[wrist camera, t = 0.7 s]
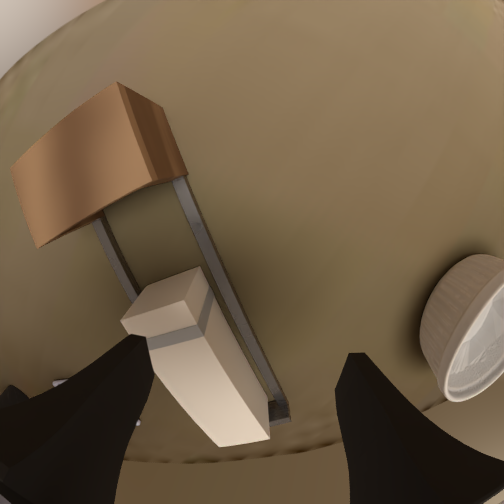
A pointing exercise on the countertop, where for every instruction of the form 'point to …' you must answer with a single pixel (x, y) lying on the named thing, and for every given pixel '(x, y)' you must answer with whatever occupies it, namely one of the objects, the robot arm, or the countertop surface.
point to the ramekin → (466, 327)
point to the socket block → (94, 162)
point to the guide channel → (278, 408)
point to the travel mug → (11, 397)
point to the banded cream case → (200, 358)
